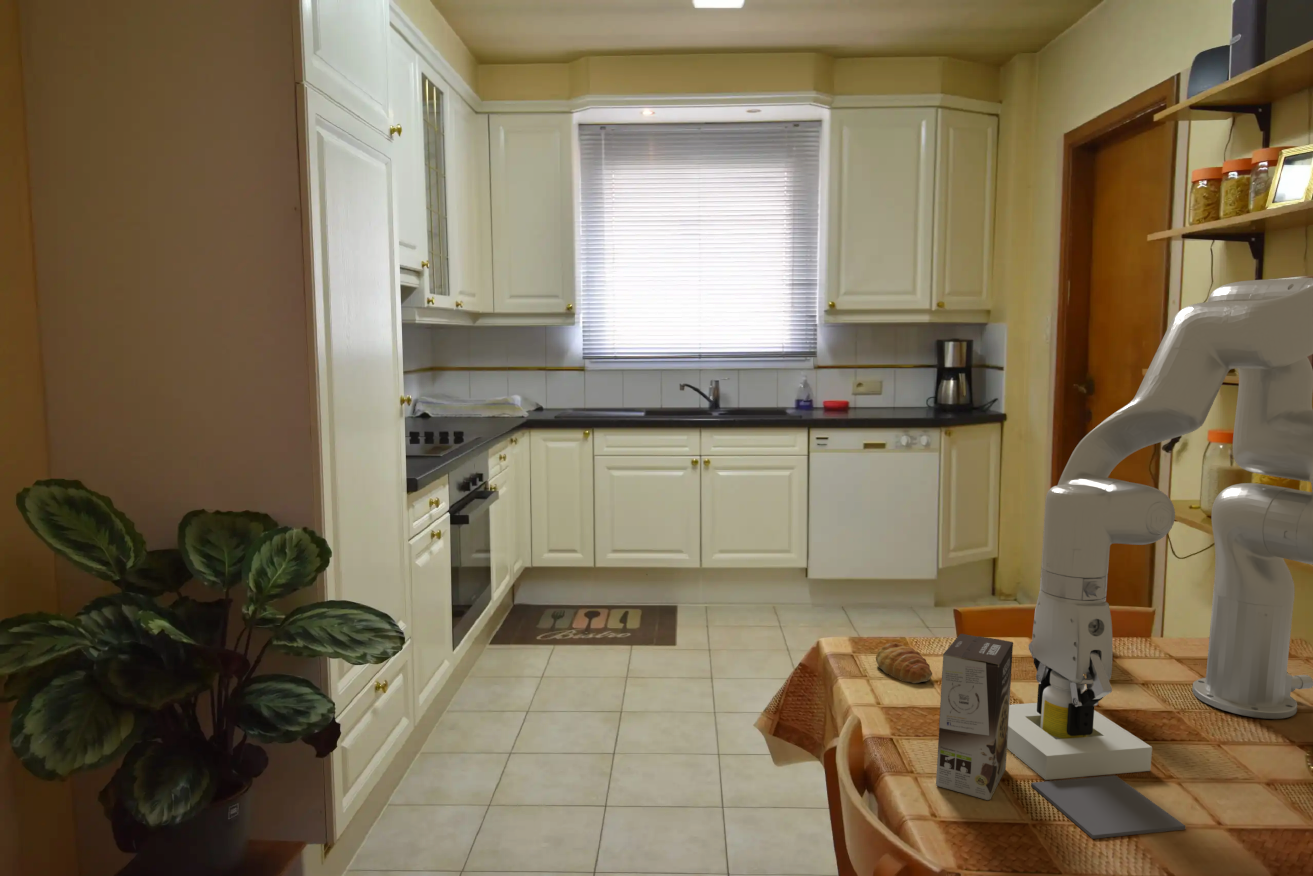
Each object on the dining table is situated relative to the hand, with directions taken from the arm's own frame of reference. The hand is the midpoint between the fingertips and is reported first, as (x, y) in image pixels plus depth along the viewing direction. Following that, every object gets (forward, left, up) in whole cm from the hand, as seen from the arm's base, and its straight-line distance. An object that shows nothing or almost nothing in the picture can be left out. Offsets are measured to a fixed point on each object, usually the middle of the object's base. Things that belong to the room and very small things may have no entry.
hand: (1063, 722), depth 113 cm
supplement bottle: (0, 0, -4) cm, 4 cm away
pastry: (+8, -27, -4) cm, 29 cm away
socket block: (0, 0, -3) cm, 3 cm away
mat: (+4, +13, -3) cm, 15 cm away
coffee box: (+15, +5, -4) cm, 17 cm away
